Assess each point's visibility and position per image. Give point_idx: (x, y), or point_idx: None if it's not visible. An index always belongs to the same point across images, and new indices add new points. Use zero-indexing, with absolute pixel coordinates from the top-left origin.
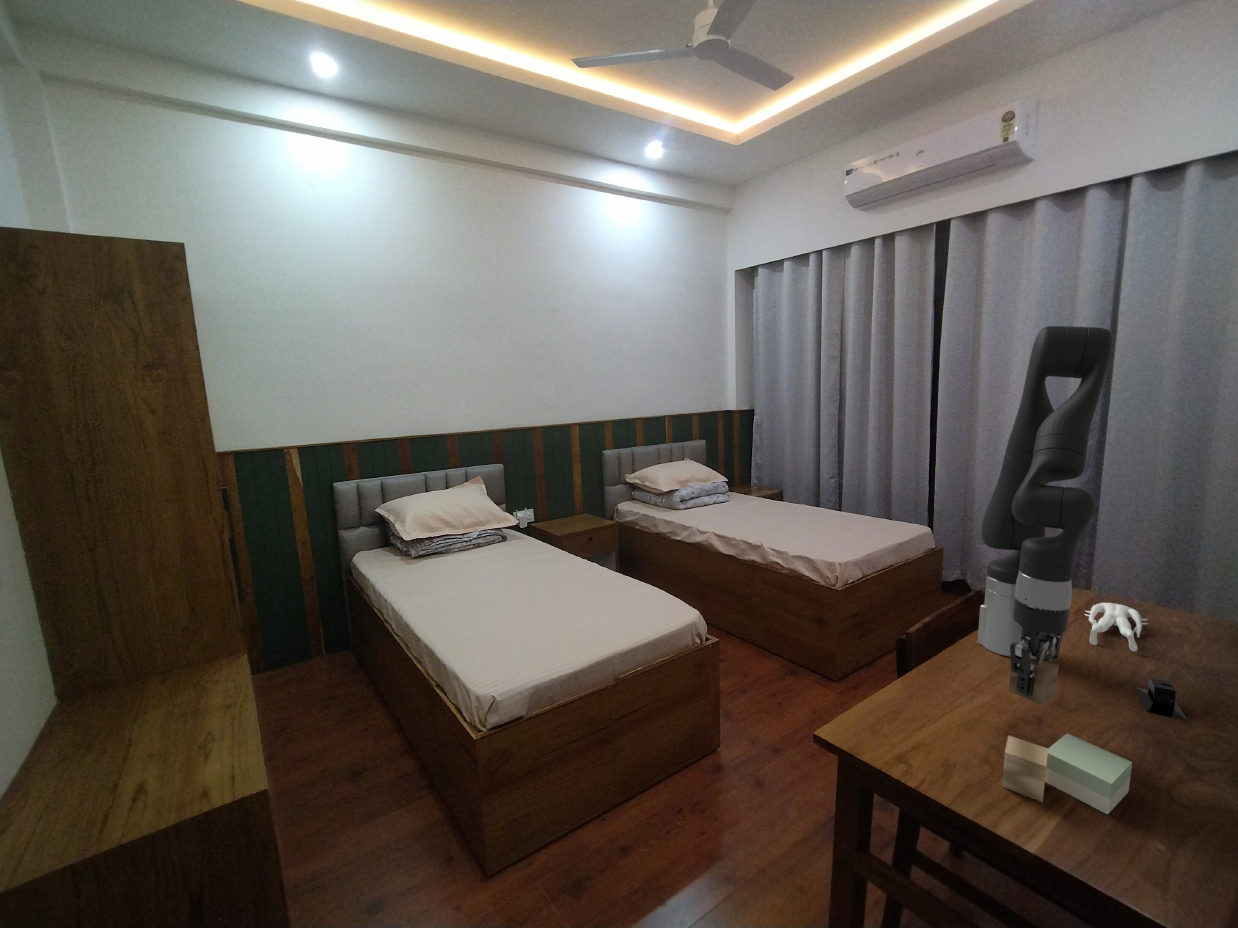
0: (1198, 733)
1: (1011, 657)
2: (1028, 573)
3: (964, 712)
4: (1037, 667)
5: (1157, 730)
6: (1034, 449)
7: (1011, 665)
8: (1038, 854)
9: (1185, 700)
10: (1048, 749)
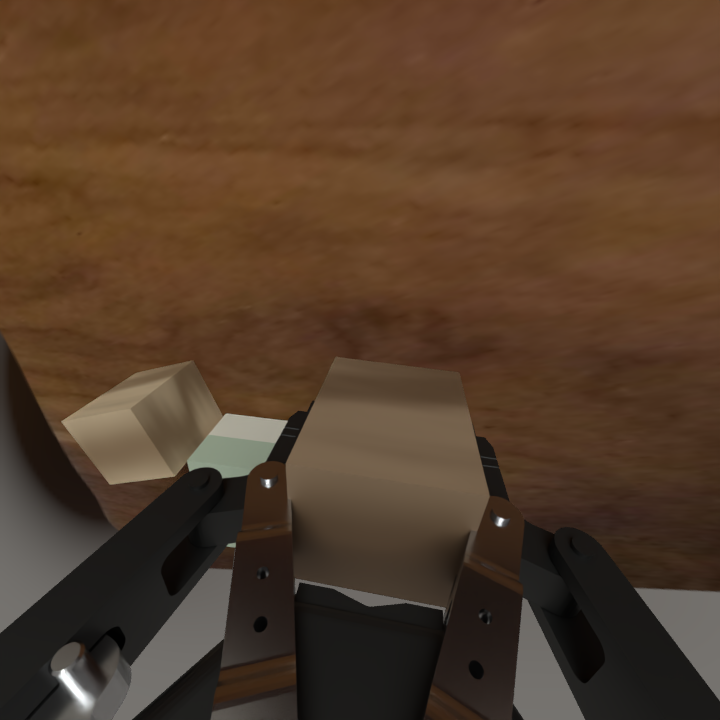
0: (666, 562)
1: (82, 568)
2: None
3: (332, 189)
4: (324, 554)
5: (624, 519)
6: None
7: (151, 506)
8: (63, 445)
9: None
10: (201, 463)
